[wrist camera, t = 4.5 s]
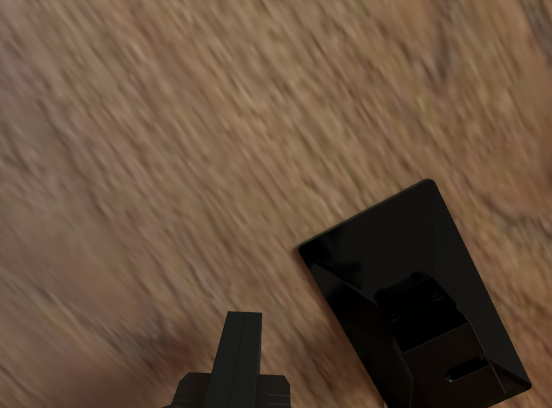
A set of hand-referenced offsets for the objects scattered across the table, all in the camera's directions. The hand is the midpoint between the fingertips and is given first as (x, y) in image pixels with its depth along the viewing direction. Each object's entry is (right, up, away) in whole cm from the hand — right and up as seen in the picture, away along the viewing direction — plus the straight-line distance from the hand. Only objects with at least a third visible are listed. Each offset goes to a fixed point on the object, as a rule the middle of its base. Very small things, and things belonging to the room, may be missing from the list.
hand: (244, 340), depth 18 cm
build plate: (+8, 0, +3) cm, 9 cm away
